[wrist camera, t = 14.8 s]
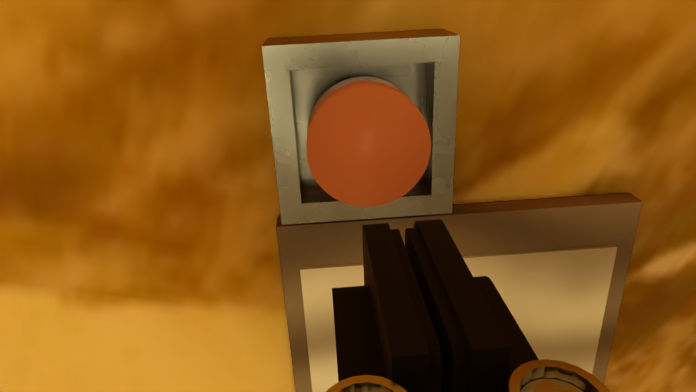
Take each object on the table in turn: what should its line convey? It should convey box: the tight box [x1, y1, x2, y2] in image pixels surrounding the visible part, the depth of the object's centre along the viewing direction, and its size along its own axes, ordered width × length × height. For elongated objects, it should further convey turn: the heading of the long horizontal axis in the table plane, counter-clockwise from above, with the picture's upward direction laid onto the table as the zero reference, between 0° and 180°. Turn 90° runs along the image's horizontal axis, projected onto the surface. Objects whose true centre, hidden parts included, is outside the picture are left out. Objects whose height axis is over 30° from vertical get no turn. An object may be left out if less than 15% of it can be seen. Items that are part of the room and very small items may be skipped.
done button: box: [306, 76, 431, 207], centre depth 21 cm, size 5×5×2 cm
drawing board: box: [276, 193, 642, 392], centre depth 29 cm, size 16×19×1 cm
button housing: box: [262, 29, 460, 225], centre depth 23 cm, size 8×8×3 cm
